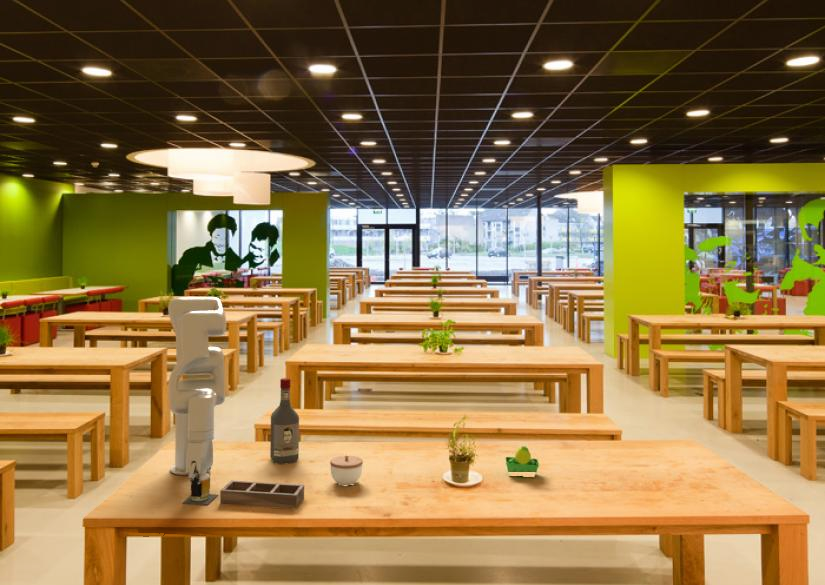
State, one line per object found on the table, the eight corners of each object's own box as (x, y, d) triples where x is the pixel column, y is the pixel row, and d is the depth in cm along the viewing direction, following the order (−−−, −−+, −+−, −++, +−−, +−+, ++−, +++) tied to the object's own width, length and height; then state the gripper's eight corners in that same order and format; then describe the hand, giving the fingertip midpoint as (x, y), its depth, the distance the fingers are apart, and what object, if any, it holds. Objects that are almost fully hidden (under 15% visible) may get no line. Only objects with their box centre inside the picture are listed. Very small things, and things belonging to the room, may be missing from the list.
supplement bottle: (211, 495, 210) (211, 464, 210) (207, 501, 205) (207, 470, 204) (193, 494, 210) (194, 464, 209) (188, 501, 205) (189, 470, 204)
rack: (231, 493, 213) (231, 480, 213) (304, 498, 211) (304, 484, 211) (220, 504, 204) (220, 490, 204) (296, 509, 202) (296, 495, 202)
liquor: (269, 457, 250) (270, 377, 248) (293, 455, 254) (294, 376, 252) (274, 465, 242) (275, 382, 240) (299, 462, 246) (301, 380, 244)
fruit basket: (536, 472, 241) (538, 441, 240) (539, 480, 232) (540, 448, 232) (504, 470, 242) (505, 439, 242) (505, 478, 234) (506, 446, 233)
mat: (193, 494, 212) (193, 493, 212) (218, 495, 211) (218, 494, 211) (182, 503, 204) (182, 502, 204) (207, 505, 203) (207, 504, 203)
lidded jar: (357, 490, 219) (357, 461, 218) (325, 487, 221) (326, 459, 220) (365, 479, 229) (366, 452, 229) (335, 476, 232) (336, 449, 231)
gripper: (200, 426, 215) (200, 482, 216) (176, 442, 198) (176, 502, 199) (223, 427, 214) (222, 483, 216) (201, 443, 197) (200, 503, 199)
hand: (200, 492), depth 207 cm, fingers closed on supplement bottle, 5 cm apart
